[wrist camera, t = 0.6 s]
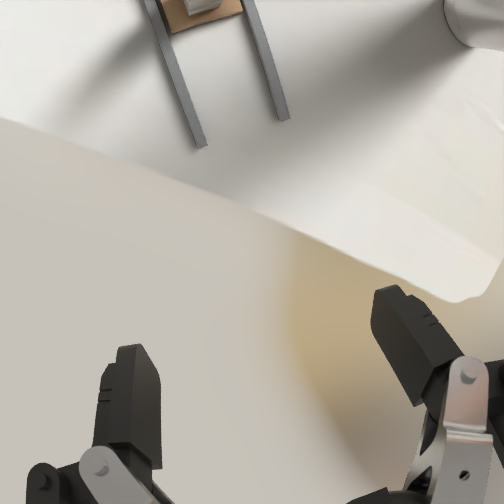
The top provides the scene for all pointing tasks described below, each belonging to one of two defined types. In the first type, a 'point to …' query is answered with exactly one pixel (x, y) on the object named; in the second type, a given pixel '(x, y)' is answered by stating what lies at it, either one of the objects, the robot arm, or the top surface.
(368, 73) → the top surface
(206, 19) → the wooden board with post
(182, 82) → the track
